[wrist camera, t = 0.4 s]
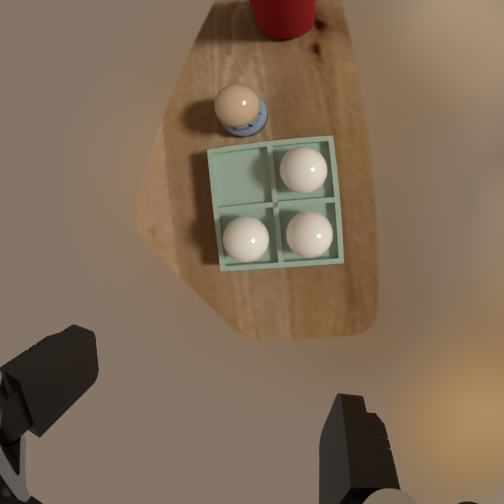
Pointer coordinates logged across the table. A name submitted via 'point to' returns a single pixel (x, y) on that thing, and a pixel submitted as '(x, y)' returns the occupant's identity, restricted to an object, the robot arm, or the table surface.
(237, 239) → the white egg
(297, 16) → the beverage can
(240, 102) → the brown egg
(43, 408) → the robot arm
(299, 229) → the white egg
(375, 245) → the table surface
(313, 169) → the white egg
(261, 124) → the egg cup
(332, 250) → the egg carton
